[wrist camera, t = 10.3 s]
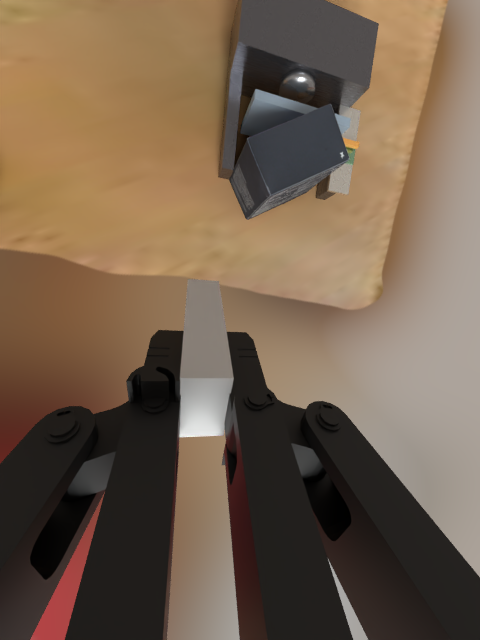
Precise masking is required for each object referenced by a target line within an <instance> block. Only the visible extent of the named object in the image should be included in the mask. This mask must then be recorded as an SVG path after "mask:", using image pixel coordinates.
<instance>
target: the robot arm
mask: <svg viewBox="0 0 480 640" xmlns="http://www.w3.org/2000/svg"><path fill="white" fill-rule="evenodd" d="M126 382H127V390H128V397H129V401H128V402H126V403H124V404H123V405H121V406H119V407H116V408H113V409H111V410H107V411H104V412H100V413H96V414H93V413H92V412H91V411H90V410H89V409H86V408H83V407H81V406H69V407H65V408H62V409H58V410H56V411H54V412H52V413H50V414H48V415H46V416H45V417H44V418H43V419H42V420H40V421H39V422H38V423H37V424H36V425H35V426H34V427H33V428H32V429H31V430H30V431H29V432H28V434H27V435H26V436H25V437H24V438H23V439H22V440H21V441H20V442H19V444H18V445H17V446H16V447H15V448H14V449H13V450H12V451H11V453H10V454H9V455H8V456H7V457H6V458H5V459H4V460H3V461H2V463H1V464H0V640H30V639H31V637H32V635H33V633H34V631H35V629H36V627H37V625H38V623H39V621H40V619H41V617H42V615H43V613H44V611H45V609H46V607H47V605H48V603H49V601H50V599H51V597H52V595H53V593H54V591H55V589H56V587H57V585H58V583H59V581H60V579H61V577H62V575H63V573H64V571H65V569H66V567H67V565H68V563H69V561H70V559H71V557H72V555H73V553H74V551H75V549H76V547H77V545H78V543H79V541H80V539H81V538H82V536H83V533H84V532H85V530H86V528H87V525H88V524H89V522H90V520H91V518H92V516H93V514H94V512H95V510H96V508H97V506H98V504H99V502H100V500H101V498H102V496H103V494H104V492H105V494H104V498H103V502H102V505H101V509H100V512H99V516H98V520H97V524H96V527H95V531H94V535H93V538H92V542H91V546H90V549H89V553H88V556H87V560H86V564H85V567H84V571H83V575H82V579H81V582H80V586H79V590H78V593H77V597H76V601H75V605H74V608H73V612H72V615H71V619H70V623H69V626H68V630H67V634H66V637H65V640H167V629H168V613H169V597H170V581H171V566H172V549H173V533H174V517H175V502H176V487H177V471H178V455H179V437H196V436H222V435H224V430H225V435H226V444H225V449H224V454H223V461H222V465H225V466H226V478H227V490H228V502H229V514H230V526H231V538H232V551H233V562H234V575H235V586H236V598H237V611H238V622H239V635H240V640H353V638H352V635H351V631H350V628H349V625H348V622H347V619H346V616H345V612H344V610H343V606H342V603H341V600H340V597H339V593H338V590H337V587H336V584H335V581H334V577H333V575H332V571H331V568H330V565H329V562H328V559H329V561H330V563H331V565H332V567H333V569H334V571H335V573H336V575H337V577H338V579H339V581H340V583H341V585H342V587H343V589H344V591H345V593H346V595H347V597H348V599H349V601H350V603H351V605H352V607H353V609H354V611H355V613H356V615H357V617H358V620H359V622H360V623H361V625H362V627H363V630H364V632H365V633H366V636H367V638H368V640H480V577H479V576H478V575H477V574H476V572H475V571H474V570H473V569H472V568H471V566H470V565H469V564H468V563H467V561H466V560H465V559H464V558H463V556H462V555H461V554H460V553H459V552H458V551H457V549H456V548H455V547H454V546H453V544H452V543H451V542H450V541H449V539H448V538H447V537H446V536H445V535H444V533H443V532H442V531H441V530H440V529H439V527H438V526H437V525H436V524H435V522H434V521H433V520H432V519H431V518H430V516H429V515H428V514H427V513H426V511H425V510H424V509H423V508H422V507H421V505H420V504H419V503H418V502H417V501H416V499H415V498H414V497H413V496H412V494H411V493H410V492H409V491H408V490H407V488H406V487H405V486H404V485H403V483H402V482H401V481H400V480H399V479H398V477H397V476H396V475H395V474H394V472H393V471H392V470H391V469H390V468H389V466H388V465H387V464H386V463H385V461H384V460H383V459H382V458H381V457H380V455H379V454H378V453H377V452H376V451H375V449H374V448H373V447H372V446H371V444H370V443H369V442H368V441H367V440H366V438H365V437H364V436H363V435H362V434H361V433H360V431H359V430H358V429H357V427H356V426H355V425H354V424H353V423H352V421H351V420H350V419H349V418H348V416H347V415H346V414H345V413H344V412H343V411H342V410H341V409H339V408H338V407H336V406H335V405H333V404H331V403H327V402H324V401H317V402H313V403H311V404H309V405H308V407H307V409H302V408H299V407H295V406H291V405H288V404H285V403H283V402H281V401H279V400H278V399H277V398H276V396H275V395H274V393H273V392H271V391H270V390H269V389H268V388H267V386H266V383H265V379H264V375H263V372H262V369H261V365H260V362H259V359H258V355H257V351H256V348H255V345H254V341H253V339H252V338H251V337H250V336H249V335H248V334H247V333H245V332H244V333H243V332H227V331H226V325H225V319H224V312H223V306H222V300H221V293H220V287H219V281H209V280H195V279H188V286H187V298H186V310H185V322H184V331H169V330H158V331H157V332H156V333H155V335H153V336H152V338H151V340H150V344H149V349H148V352H147V357H146V360H145V364H144V366H142V367H140V368H138V369H136V370H135V371H134V372H132V373H131V374H130V376H129V378H128V379H127V381H126ZM327 557H328V558H327Z"/></svg>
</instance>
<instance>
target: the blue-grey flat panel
mask: <svg viewBox="0 0 480 640" xmlns="http://www.w3.org/2000/svg"><path fill="white" fill-rule="evenodd" d="M316 109H318V108H316V107H312V106H309V105H306V104H303V103H299V102H296V101H293V100H290V99H287V98H283V97H280V96H277V95H274V94H271V93H267V92H264V91H261V90H258V89H255V91H254V94H253V96H252V99H251V101H250V104H249V106H248V109H247V111H246V114H245V116H244V119H243V121H242V124H241V130H240V133H241V134H245V135H249V136H253V135H256V134H258V133H261V132H263V131H266V130H268V129H270V128H273V127H275V126H278V125H280V124H283V123H285V122H287V121H290V120H292V119H295V118H297V117H299V116H302V115H304V114H306V113H309V112H311V111H313V110H316ZM335 117H336V119H337V122H338V125H339V128H340V131H341V134H343V133H344V132H345V131H346V130H347V129H349V128H350V121H351V118H348V117H344V116H341V115H338V114H335ZM343 140H344V143H345V146H346V147H349V148H353V149H357V148H358V147H359V142H357V141H353V140H350V139H346V138H343Z"/></svg>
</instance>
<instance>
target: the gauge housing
mask: <svg viewBox="0 0 480 640" xmlns="http://www.w3.org/2000/svg"><path fill="white" fill-rule="evenodd" d="M378 25H379V24H378V23H376V22H374V21H371V20H369V19H367V18H365V17H362V16H360V15H358V14H355V13H353V12H351V11H348V10H346V9H344V8H341V7H339V6H337V5H334V4H332V3H330V2H327V1H325V0H238V3H237V7H236V12H235V17H234V21H233V26H232V31H231V42H230V53H229V64H228V76H227V87H226V98H225V109H224V120H223V131H222V143H221V154H220V165H219V176H218V177H220V178H224V179H230V177H231V175H232V172H233V170H234V161H235V150H236V140H237V130H238V119H239V109H240V98H241V94H242V95H245V96H248V97H252V96H253V94H254V91H255V89H258V90H261V91H264V92H267V93H271V94H274V95H277V96H280V97H283V98H287V99H290V100H293V101H296V102H299V103H303V104H306V105H309V106H312V107H316V108H320V107H323V106H325V105H327V104H331V105H332V108H333V111H334V113H335V114H338V115H341V116H344V117H348V118H351V121H350V128H349V129H347V130H346V131H345V132H344V133H343V134H342V137H343V138H346V139H350V140H353V141H356V139H357V132H358V125H359V118H360V111H359V110H356V109H353V108H350V107H351V106H352V105H353V104H354V103H355V102H356V101H357V100H358V99H359V98H360V97H361V96H362V95H363V94H364V93H365V92H366V91H367V90H368V88H369V85H370V78H371V72H372V65H373V58H374V51H375V45H376V38H377V31H378ZM346 149H347V152H348V155H349V160H348V161H347V162H346V163H344V164H343V165H342V166H340V167H339V168H338V169H336V170H335V171H334V172H332V173H331V174H330V175H328V176H327V177H326V178H324V179H323V180H321V181H320V182H319V183H318V185H317V193H316V198H318V199H323V200H325V199H327V198H329V197H330V196H332V195H334V194H336V193H337V194H342V195H346V196H347V195H348V193H349V186H350V180H351V173H352V166H353V163H354V156H355V149H353V148H349V147H346Z"/></svg>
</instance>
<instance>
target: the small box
mask: <svg viewBox="0 0 480 640" xmlns="http://www.w3.org/2000/svg"><path fill="white" fill-rule="evenodd" d="M348 160H349V155H348V152H347V149H346V146H345V143H344V140H343V137H342V134H341V131H340V128H339V125H338V122H337V119H336V117H335V113H334V111H333V108H332V105H331V104H327V105H325V106H323V107H320V108H318V109H316V110H313V111H311V112H309V113H306V114H304V115H302V116H299V117H297V118H295V119H292V120H290V121H287V122H285V123H283V124H280V125H278V126H275V127H273V128H270V129H268V130H266V131H263V132H261V133H258V134H256V135H253V136H251V137H248V138H247V141H246V143H245V145H244V148H243V150H242V152H241V154H240V157H239V159H238V161H237V163H236V165H235V167H234V170H233V172H232V175H231V177H230V179H229V180H230V183H231V185H232V188H233V190H234V192H235V195H236V197H237V199H238V202H239V204H240V206H241V208H242V211H243V213H244V215H245V218H246V219H247V220H248V219H250V218H253V217H255V216H257V215H259V214H262V213H264V212H266V211H268V210H270V209H272V208H275V207H277V206H279V205H281V204H284V203H286V202H288V201H290V200H292V199H294V198H296V197H298V196H300V195H302V194H304V193H306V192H308V191H309V190H310V189H311V188H312V187H314V186H315V185H316V184H318V183H319V182H320V181H321V180H323V179H324V178H326V177H327V176H328V175H330V174H331V173H332V172H334V171H335V170H336V169H338V168H339V167H340V166H342V165H343V164H344V163H346V162H347V161H348Z"/></svg>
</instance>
